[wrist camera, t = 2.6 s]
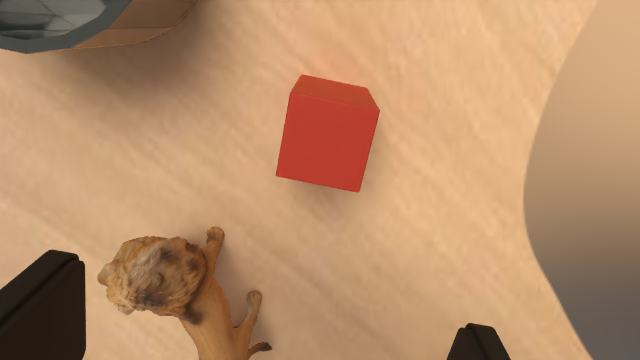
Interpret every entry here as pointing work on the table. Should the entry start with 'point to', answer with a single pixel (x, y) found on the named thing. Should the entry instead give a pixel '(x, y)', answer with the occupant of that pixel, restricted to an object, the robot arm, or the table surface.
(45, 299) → the robot arm
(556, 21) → the table surface
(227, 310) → the lion figurine
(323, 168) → the red block
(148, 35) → the dark gray mug
